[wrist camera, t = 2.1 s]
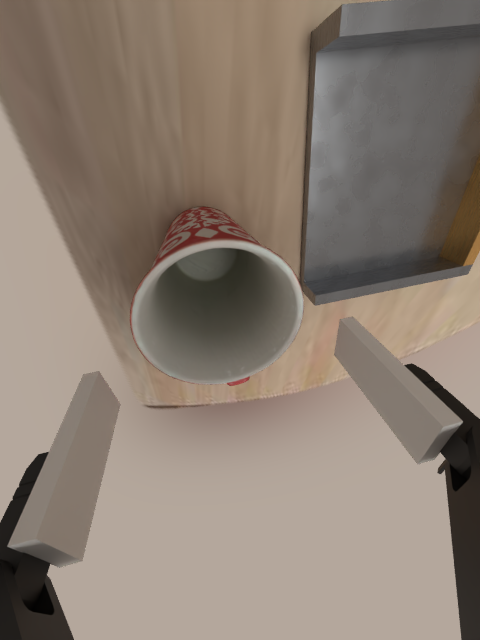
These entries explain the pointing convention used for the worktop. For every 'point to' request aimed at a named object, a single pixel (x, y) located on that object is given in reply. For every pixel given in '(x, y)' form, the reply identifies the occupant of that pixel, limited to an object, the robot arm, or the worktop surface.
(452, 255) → the tray
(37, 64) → the worktop surface
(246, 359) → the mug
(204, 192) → the worktop surface
